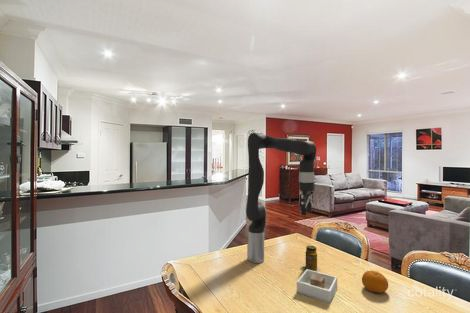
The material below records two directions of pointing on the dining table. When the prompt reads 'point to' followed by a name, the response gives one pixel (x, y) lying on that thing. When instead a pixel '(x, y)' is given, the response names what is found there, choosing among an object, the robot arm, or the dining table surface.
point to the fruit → (374, 281)
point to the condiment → (311, 259)
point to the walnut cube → (317, 281)
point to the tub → (315, 291)
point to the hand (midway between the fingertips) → (306, 213)
